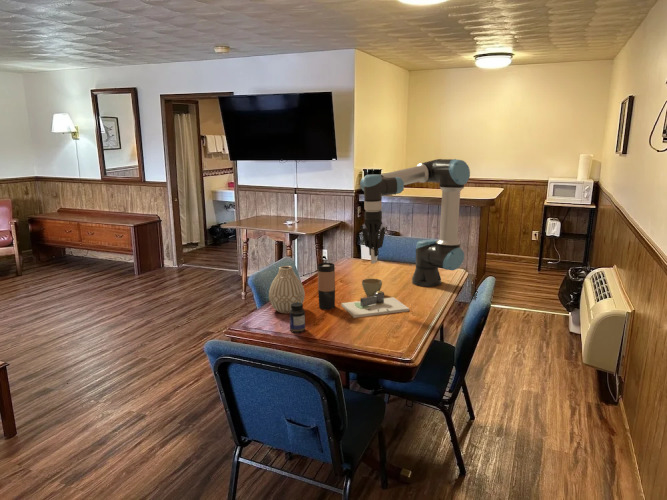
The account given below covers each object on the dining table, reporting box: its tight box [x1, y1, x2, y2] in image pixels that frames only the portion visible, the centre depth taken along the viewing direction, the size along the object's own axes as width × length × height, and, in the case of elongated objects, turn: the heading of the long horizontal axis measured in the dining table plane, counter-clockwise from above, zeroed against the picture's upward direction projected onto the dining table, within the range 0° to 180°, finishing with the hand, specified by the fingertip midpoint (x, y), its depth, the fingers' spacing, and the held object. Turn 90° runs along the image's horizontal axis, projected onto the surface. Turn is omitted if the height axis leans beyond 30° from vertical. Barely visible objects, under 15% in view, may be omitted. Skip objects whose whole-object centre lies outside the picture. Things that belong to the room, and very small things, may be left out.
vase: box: [268, 265, 306, 314], centre depth 215 cm, size 16×16×20 cm
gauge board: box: [341, 296, 410, 319], centre depth 218 cm, size 26×17×2 cm, turn 107°
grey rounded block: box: [359, 290, 385, 307], centre depth 218 cm, size 12×4×5 cm, turn 124°
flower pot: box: [361, 278, 383, 297], centre depth 236 cm, size 10×10×7 cm
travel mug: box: [317, 262, 336, 311], centre depth 218 cm, size 8×8×20 cm
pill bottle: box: [288, 302, 306, 334], centre depth 192 cm, size 6×6×11 cm
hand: (374, 262), depth 216 cm, fingers closed
